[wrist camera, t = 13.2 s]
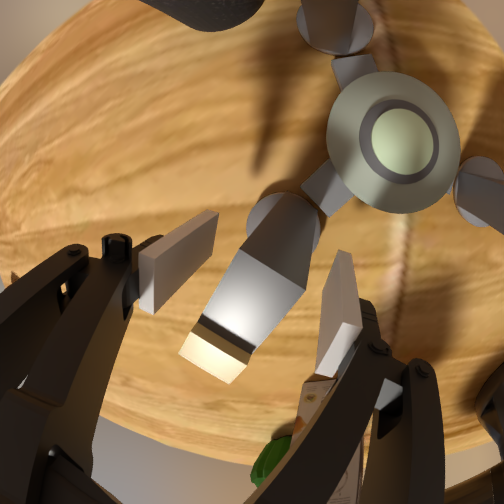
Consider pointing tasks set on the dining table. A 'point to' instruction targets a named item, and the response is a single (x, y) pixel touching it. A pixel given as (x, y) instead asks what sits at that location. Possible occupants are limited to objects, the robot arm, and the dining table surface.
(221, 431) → the dining table surface
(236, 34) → the dining table surface
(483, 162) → the dark grey upright block
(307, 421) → the coffee box
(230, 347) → the grey block tan end
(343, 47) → the grey post tan tip
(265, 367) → the dining table surface
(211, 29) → the travel mug
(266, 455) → the bell pepper
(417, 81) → the tribrach hub
